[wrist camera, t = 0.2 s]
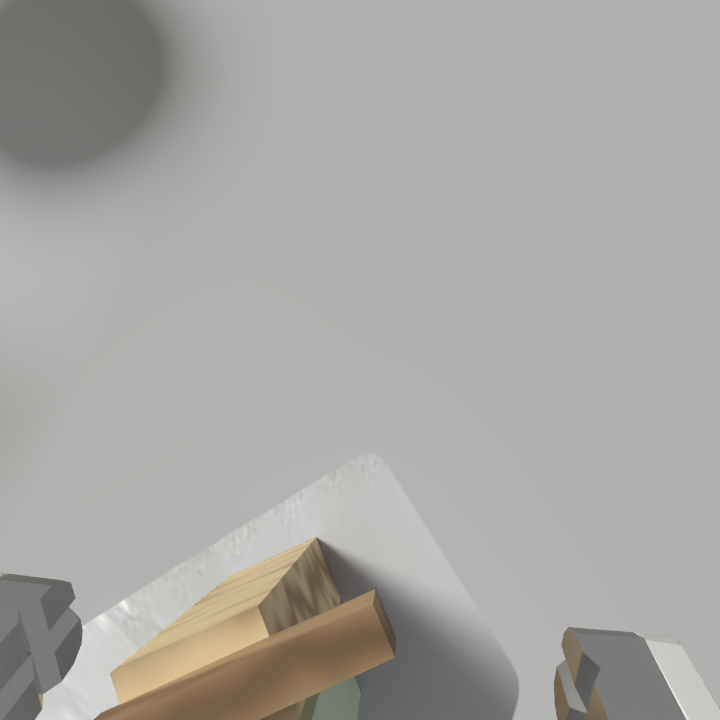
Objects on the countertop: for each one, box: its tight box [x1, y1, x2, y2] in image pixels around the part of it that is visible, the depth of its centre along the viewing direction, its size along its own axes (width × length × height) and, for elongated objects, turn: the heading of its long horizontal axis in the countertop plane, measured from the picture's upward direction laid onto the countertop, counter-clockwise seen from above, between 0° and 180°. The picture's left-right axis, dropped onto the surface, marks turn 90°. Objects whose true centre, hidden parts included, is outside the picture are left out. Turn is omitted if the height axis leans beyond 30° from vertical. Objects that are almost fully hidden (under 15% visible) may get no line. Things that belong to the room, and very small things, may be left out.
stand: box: [110, 537, 341, 720], centre depth 48 cm, size 8×12×26 cm, turn 114°
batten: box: [94, 589, 395, 720], centre depth 33 cm, size 4×22×4 cm, turn 114°
